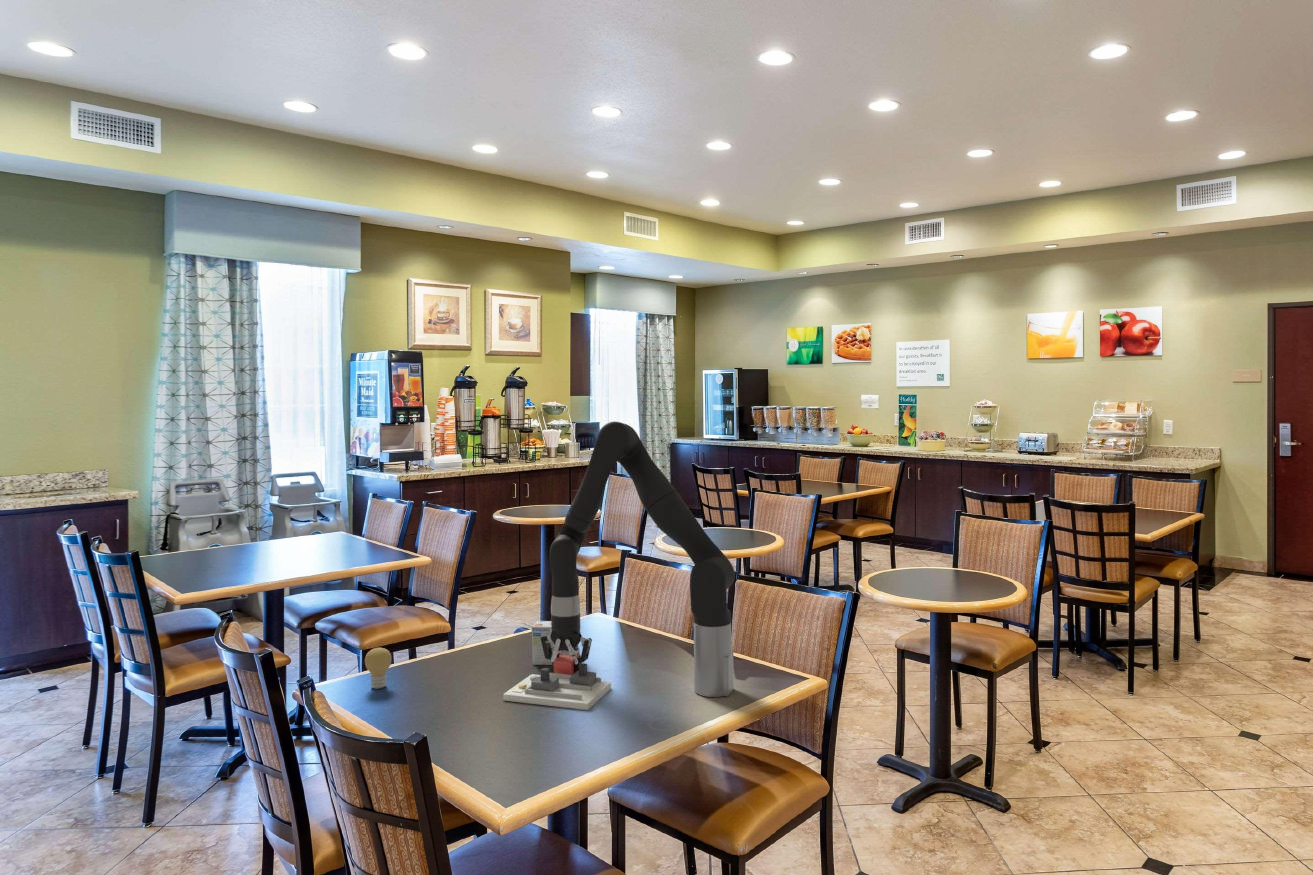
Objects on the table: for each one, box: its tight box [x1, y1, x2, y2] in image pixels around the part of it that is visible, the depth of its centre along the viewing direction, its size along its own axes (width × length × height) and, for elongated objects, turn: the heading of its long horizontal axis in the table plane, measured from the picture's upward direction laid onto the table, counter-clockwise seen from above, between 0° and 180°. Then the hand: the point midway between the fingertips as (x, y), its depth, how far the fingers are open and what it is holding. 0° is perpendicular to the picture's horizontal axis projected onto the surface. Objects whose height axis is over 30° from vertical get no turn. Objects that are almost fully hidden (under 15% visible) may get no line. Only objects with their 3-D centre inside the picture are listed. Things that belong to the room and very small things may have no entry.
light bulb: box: [364, 647, 393, 690], centre depth 204 cm, size 6×6×10 cm
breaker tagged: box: [531, 667, 559, 692], centre depth 197 cm, size 5×5×5 cm
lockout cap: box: [554, 655, 575, 675], centre depth 210 cm, size 5×5×5 cm
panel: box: [502, 662, 612, 711], centre depth 198 cm, size 22×15×7 cm
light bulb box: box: [531, 620, 571, 666], centre depth 223 cm, size 11×7×11 cm, turn 84°
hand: (566, 675), depth 210 cm, fingers closed on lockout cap, 5 cm apart
